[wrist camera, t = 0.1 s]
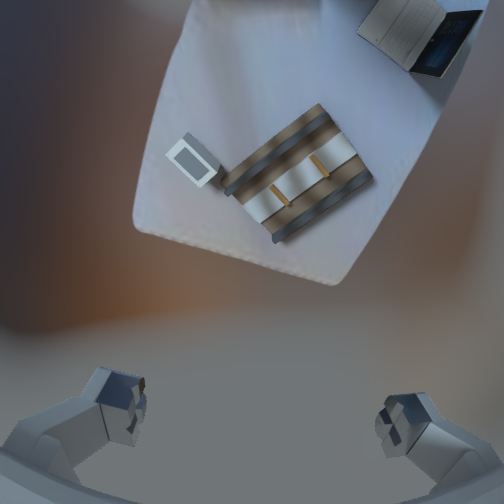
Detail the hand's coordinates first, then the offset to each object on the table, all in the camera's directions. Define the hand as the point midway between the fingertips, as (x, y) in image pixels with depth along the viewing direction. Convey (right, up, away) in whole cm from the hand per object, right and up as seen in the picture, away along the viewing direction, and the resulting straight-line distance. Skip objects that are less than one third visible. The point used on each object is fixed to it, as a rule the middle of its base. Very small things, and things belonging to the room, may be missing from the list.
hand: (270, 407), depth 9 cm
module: (-11, +24, +48) cm, 54 cm away
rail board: (+8, +20, +49) cm, 54 cm away
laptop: (+27, +48, +29) cm, 62 cm away
